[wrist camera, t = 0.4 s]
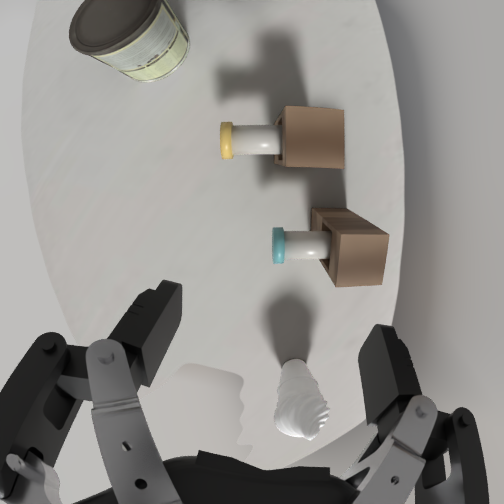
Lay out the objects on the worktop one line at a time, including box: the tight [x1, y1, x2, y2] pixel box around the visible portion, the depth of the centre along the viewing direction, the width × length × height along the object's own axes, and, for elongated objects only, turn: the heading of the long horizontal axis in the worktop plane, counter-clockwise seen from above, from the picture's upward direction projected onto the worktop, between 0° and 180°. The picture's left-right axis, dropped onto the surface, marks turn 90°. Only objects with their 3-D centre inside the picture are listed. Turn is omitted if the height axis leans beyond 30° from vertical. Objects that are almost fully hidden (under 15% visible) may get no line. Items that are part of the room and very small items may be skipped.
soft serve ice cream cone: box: [274, 359, 330, 440], centre depth 37 cm, size 8×8×16 cm
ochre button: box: [220, 122, 282, 159], centre depth 26 cm, size 4×7×4 cm, turn 91°
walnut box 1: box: [274, 106, 344, 169], centre depth 27 cm, size 5×5×13 cm
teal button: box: [272, 227, 332, 264], centre depth 29 cm, size 4×7×4 cm, turn 91°
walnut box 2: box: [311, 208, 389, 287], centre depth 31 cm, size 5×5×13 cm
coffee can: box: [69, 0, 190, 82], centre depth 22 cm, size 10×10×14 cm
